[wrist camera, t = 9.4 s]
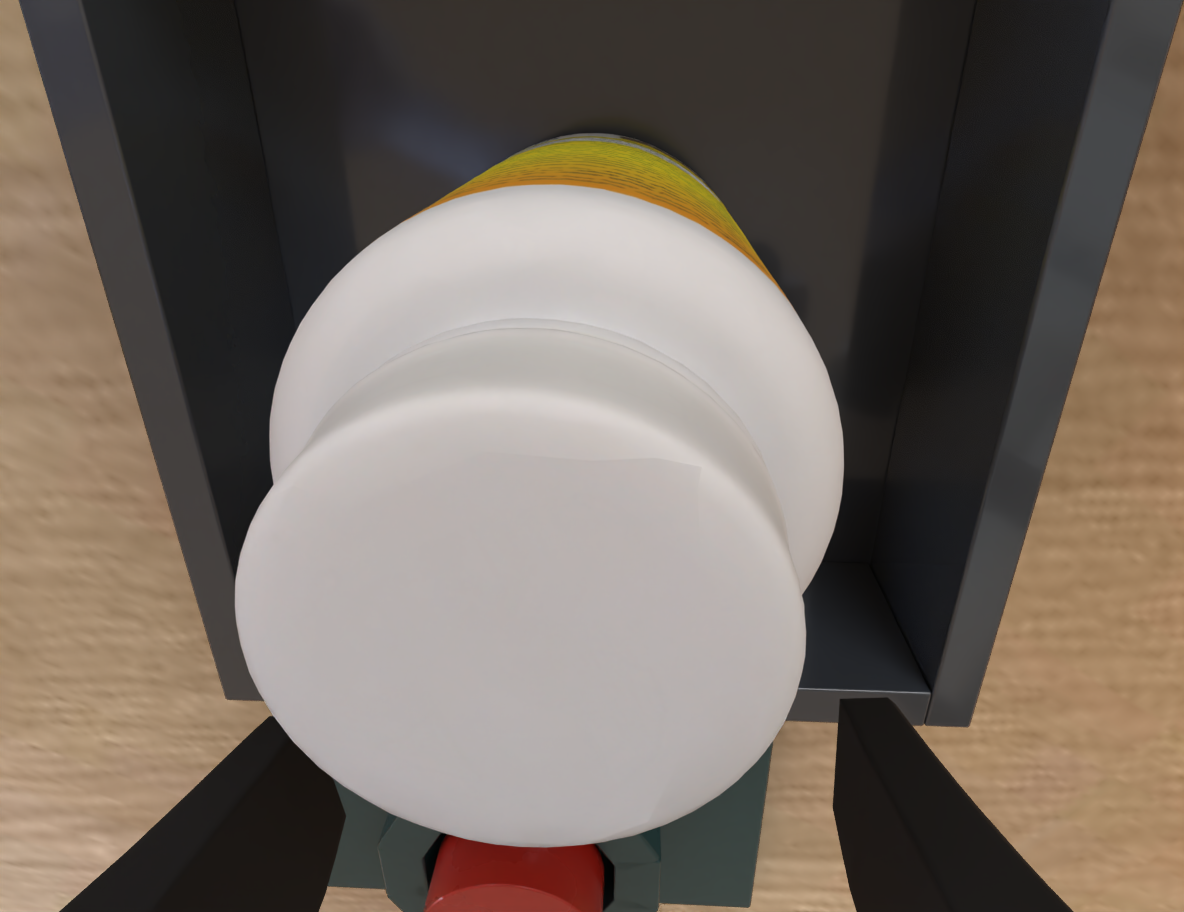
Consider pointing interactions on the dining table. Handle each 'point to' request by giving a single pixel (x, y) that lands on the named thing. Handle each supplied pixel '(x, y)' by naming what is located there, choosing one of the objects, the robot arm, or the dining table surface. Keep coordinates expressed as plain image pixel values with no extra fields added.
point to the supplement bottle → (544, 505)
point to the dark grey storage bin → (720, 158)
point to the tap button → (515, 878)
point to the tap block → (631, 865)
